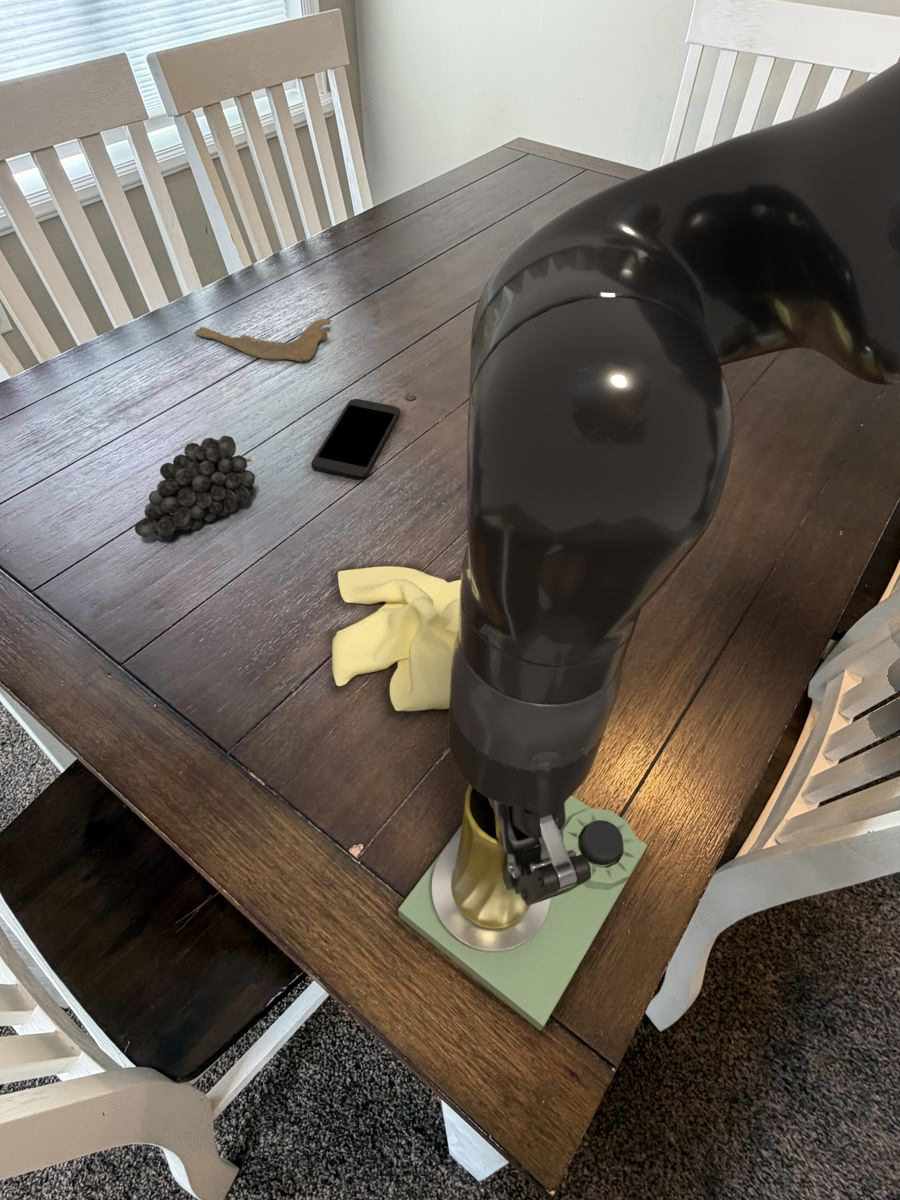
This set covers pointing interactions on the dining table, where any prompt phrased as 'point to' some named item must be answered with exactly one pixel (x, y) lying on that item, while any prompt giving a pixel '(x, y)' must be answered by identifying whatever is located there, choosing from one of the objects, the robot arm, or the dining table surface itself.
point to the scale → (563, 939)
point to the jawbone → (275, 343)
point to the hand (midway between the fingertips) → (503, 835)
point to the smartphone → (356, 439)
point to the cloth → (400, 633)
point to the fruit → (197, 488)
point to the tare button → (601, 842)
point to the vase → (483, 869)
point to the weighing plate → (469, 930)
